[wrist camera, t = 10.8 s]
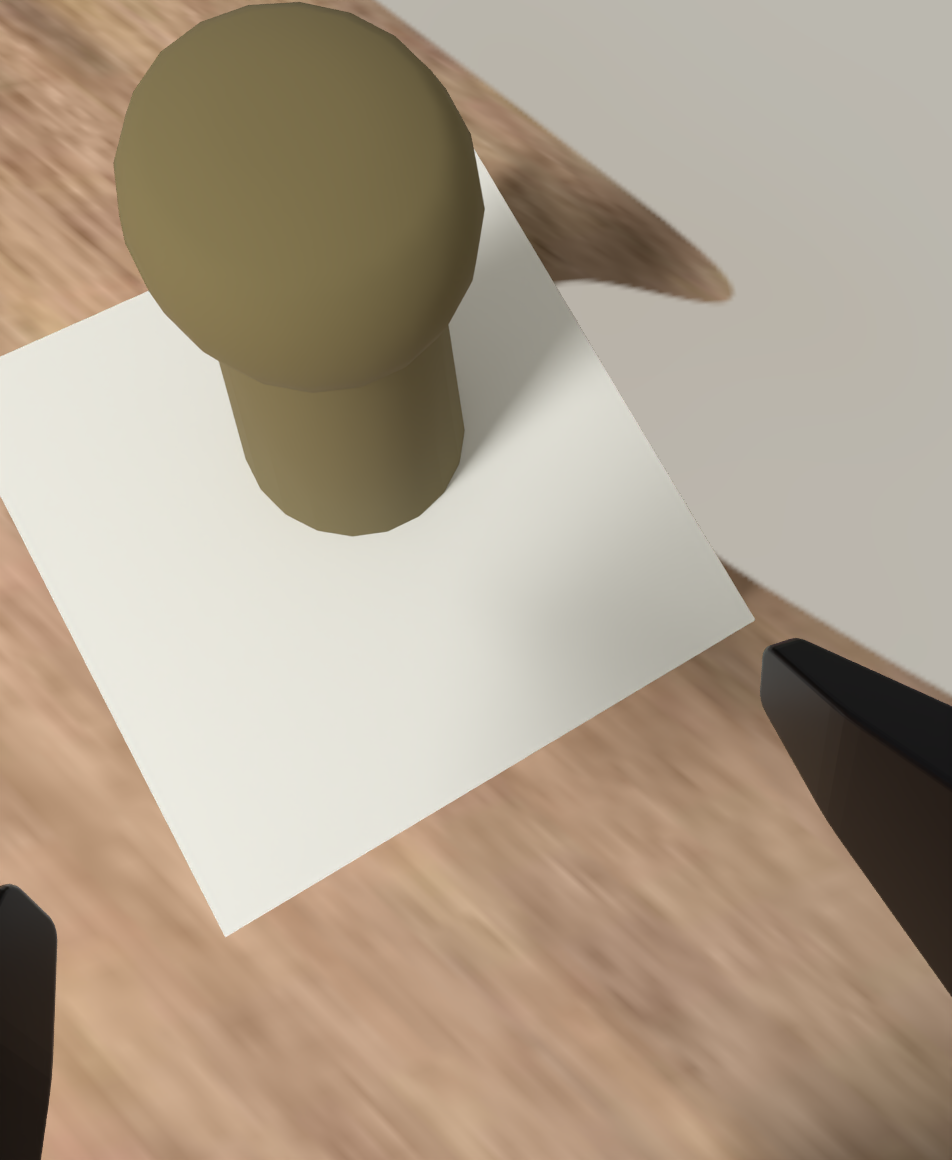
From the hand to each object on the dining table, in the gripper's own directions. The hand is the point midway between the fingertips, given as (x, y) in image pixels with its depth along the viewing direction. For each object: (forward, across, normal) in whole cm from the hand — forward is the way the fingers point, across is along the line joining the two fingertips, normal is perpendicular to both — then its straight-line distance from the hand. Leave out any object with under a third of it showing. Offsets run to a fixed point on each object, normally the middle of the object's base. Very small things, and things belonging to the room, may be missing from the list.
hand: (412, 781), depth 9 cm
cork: (+13, 0, +1) cm, 13 cm away
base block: (+14, 0, +5) cm, 15 cm away
